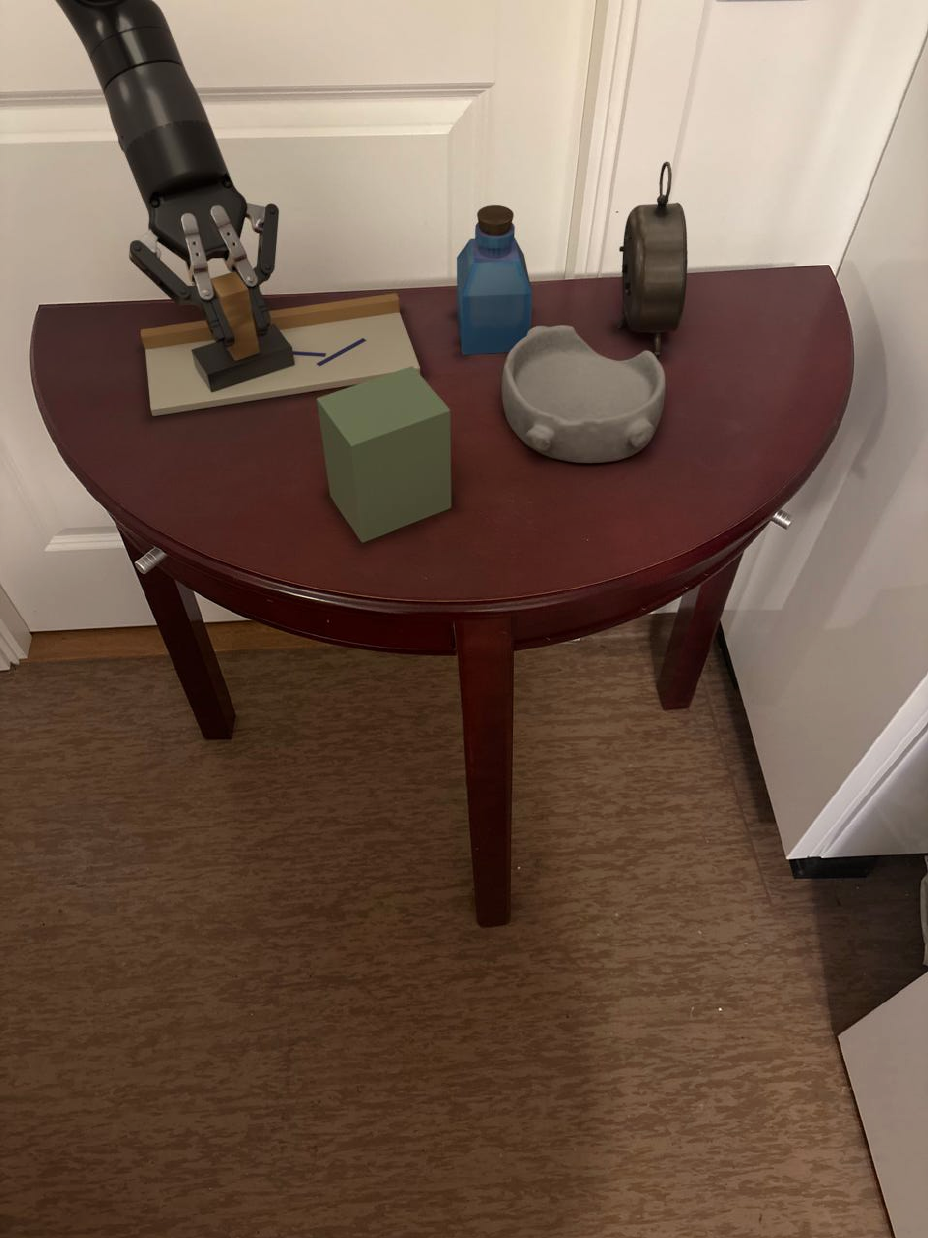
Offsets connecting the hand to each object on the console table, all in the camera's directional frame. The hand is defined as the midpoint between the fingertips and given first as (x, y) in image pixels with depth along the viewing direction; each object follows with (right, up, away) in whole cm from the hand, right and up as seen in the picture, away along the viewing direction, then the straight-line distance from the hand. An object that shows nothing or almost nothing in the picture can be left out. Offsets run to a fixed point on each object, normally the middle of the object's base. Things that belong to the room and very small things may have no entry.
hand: (246, 338), depth 87 cm
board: (+2, 0, +6) cm, 7 cm away
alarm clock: (+36, +3, +10) cm, 37 cm away
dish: (+29, -7, +1) cm, 30 cm away
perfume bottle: (+21, +3, +9) cm, 23 cm away
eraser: (-1, -1, +5) cm, 5 cm away
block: (+13, -15, -5) cm, 20 cm away
